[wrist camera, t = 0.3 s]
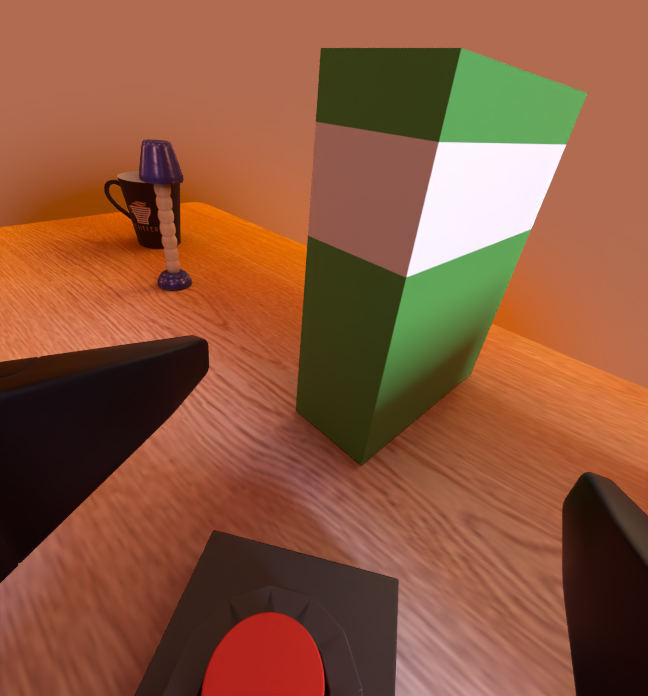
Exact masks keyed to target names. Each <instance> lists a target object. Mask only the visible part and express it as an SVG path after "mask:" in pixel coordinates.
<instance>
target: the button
mask: <svg viewBox="0 0 648 696" xmlns="http://www.w3.org/2000/svg"><path fill="white" fill-rule="evenodd" d="M201 696H324V670H323V665H322V660H321V657H320V654H319V651H318V648H317V646H316V644H315V642H314V640H313V639H312V637H311V635H310V634H309V633H308V631H307V630H306V629H305V628H304V627H303V626H302V625H301V624H300V623H299V622H297V621H296V620H294V619H293V618H291V617H289V616H286V615H284V614H280V613H274V612H266V613H259V614H255V615H253V616H250V617H248V618H246V619H244V620H242V621H241V622H239V623H238V624H237V625H235V626H234V627H233V628H232V629H231V630H230V631H229V632H228V633H227V634H226V635H225V636H224V637H223V639H222V640H221V641H220V643H219V644H218V646H217V647H216V649H215V651H214V653H213V655H212V657H211V659H210V661H209V664H208V666H207V669H206V672H205V676H204V680H203V685H202V693H201Z"/></svg>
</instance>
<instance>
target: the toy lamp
mask: <svg viewBox="0 0 648 696" xmlns="http://www.w3.org/2000/svg"><path fill="white" fill-rule="evenodd" d="M139 179H140V180H141V181H143V182H146V183H152V184H154V191H155V193H156V195H157V197H156V205H157V207H158V209H159V210H158V218H159V220H160V222H161V223H160V232H161V234H162V235H163V236H162V244H163V246H164V257H165V259H166V263H165V265H166V269H167V270H165V271H163V272H162V273H161V274H160V276H159V278H158V286H159V287H160V288H162V289H166V290H179V289H184V288H187V287H189V286H190V285H191V284H192V280H191V278H190V276H189V274H188V273H187V272H185V271H183V270H181V269H180V262H179V260H178V258H179V252H178V249H177V248H176V247H177V238H176V236H175V233H176V228H175V225H174V223H173V221H174V214H173V211H172V210H171V209H172V199H171V197H170V194H171V188H170V184H180V183H182V182H183V175H182V172H181V169H180V166H179V163H178V160H177V158H176V155H175V152H174V149H173V146H172V144H171V143H170V142H168V141H162V140H143V141H142V147H141V156H140V167H139Z"/></svg>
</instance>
